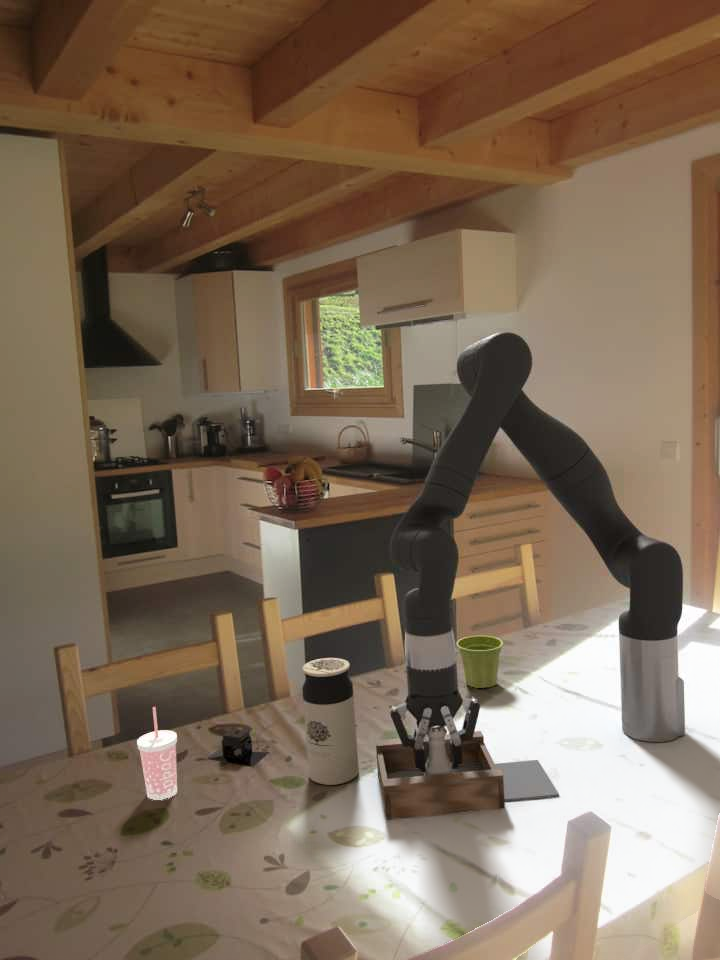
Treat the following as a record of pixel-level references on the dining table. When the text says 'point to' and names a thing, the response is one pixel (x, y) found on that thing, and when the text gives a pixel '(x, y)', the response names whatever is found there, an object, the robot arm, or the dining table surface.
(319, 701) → the travel mug
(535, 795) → the charcoal mat
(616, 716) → the dining table surface
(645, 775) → the dining table surface
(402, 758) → the brown wooden box
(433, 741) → the rook chess piece
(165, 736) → the beverage cup
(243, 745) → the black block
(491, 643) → the plant pot
